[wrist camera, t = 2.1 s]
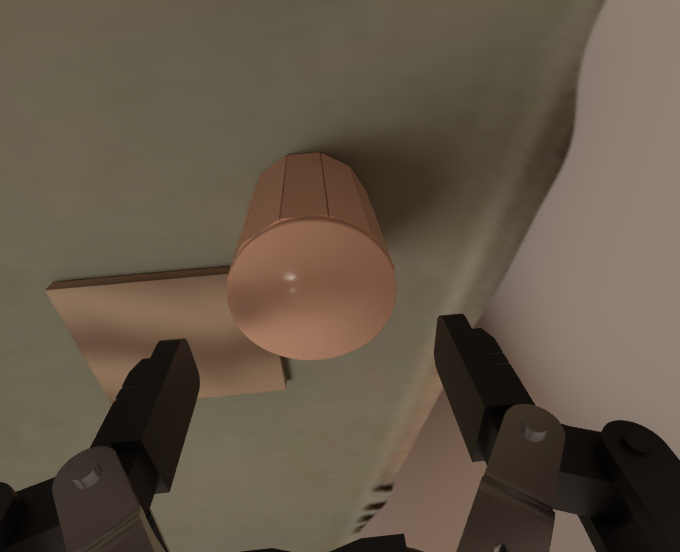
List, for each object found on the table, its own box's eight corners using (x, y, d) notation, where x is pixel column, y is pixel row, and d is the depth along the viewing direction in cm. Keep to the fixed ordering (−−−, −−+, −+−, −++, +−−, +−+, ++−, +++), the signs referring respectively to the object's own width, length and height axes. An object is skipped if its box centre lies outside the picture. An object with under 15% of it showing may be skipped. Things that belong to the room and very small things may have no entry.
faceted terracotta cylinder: (241, 158, 19) (208, 231, 12) (365, 148, 19) (398, 215, 13) (262, 265, 23) (244, 367, 16) (367, 255, 23) (394, 352, 16)
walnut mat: (52, 282, 22) (44, 290, 21) (263, 263, 22) (262, 270, 22) (118, 397, 28) (113, 407, 27) (286, 380, 28) (286, 389, 27)
